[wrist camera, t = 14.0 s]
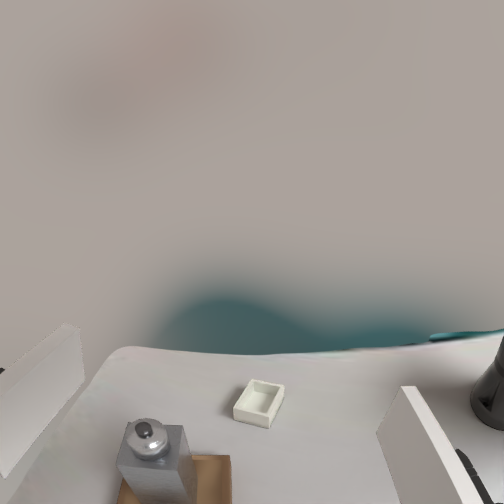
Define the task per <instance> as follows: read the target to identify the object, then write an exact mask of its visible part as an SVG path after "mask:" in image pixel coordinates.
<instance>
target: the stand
mask: <svg viewBox="0 0 504 504" xmlns="http://www.w3.org/2000/svg"><path fill="white" fill-rule="evenodd" d="M191 456H192V460H193V463H194V466H195V469H196V473H197V476H198V485H197V504H232V483H231V462H230V455H191ZM117 504H141V502H140V501H139V499H138V498H137V497H136V495H135V494H134V492H133V491H132V489H131V488H130V486H129V485H128V483H127V482H126V480H125V479H124V477H123V480H122V484H121V488H120V492H119V496H118V500H117Z"/></svg>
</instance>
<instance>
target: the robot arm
mask: <svg viewBox="0 0 504 504" xmlns="http://www.w3.org/2000/svg"><path fill="white" fill-rule="evenodd" d="M84 381H85V374H84V366H83V357H82V348H81V338H80V328H79V327H76V326H73V325H70V324H68V323H64V324H63V325H62V326H60V327H59V328H58V329H56V330H55V331H54V332H52V333H51V334H50V335H49V336H47V337H46V338H45V339H43V340H42V341H41V342H40V343H38V344H37V345H36V346H35V347H33V348H32V349H31V350H29V351H28V352H27V353H26V354H25V355H23V356H22V357H21V358H19V359H18V360H17V361H16V362H14V363H13V364H12V365H11V366H10V367H9V368H7V369H6V370H5V369H3V368H0V476H1V477H3V478H4V479H6V477H7V476H8V475H9V473H10V472H11V471H12V469H13V468H14V467H15V465H16V464H17V463H18V462H19V460H20V459H21V458H22V456H23V455H24V454H25V453H26V451H27V450H28V449H29V448H30V446H31V445H32V444H33V443H34V441H35V440H36V439H37V438H38V436H39V435H40V434H41V433H42V431H43V430H44V429H45V428H46V427H47V425H48V424H49V423H50V422H51V420H52V419H53V418H54V417H55V415H56V414H57V413H58V412H59V411H60V410H61V408H62V407H63V406H64V405H65V403H66V402H67V401H68V400H69V399H70V397H71V396H72V395H73V394H74V393H75V392H76V391H77V389H78V388H79V387H80V386H81V385H82V384H83V382H84ZM471 405H472V408H473V410H474V412H475V414H476V415H477V416H478V417H479V419H480V420H482V421H483V422H484V423H485V424H487V425H489V426H491V427H493V428H495V429H499V430H504V336H503V339H502V342H501V344H500V347H499V350H498V352H497V355H496V357H495V360H494V362H493V363H492V364H491V365H490V367H489V368H488V369H487V370H486V371H485V373H484V374H483V375H482V376H481V377H480V378H479V380H478V381H477V383H476V384H475V387H474V389H473V391H472V393H471ZM376 434H377V437H378V440H379V442H380V445H381V448H382V450H383V453H384V456H385V459H386V462H387V464H388V467H389V470H390V473H391V476H392V479H393V482H394V485H395V487H396V490H397V493H398V496H399V499H400V502H401V504H494V503H493V501H492V500H491V498H490V496H489V494H488V492H487V490H486V488H485V487H484V485H483V483H482V481H481V479H480V478H479V476H477V472H476V471H475V469H474V468H473V465H472V464H471V462H470V460H469V459H468V457H467V456H466V455H465V454H464V453H463V452H461V451H460V450H459V449H455V450H454V448H453V447H452V445H451V443H450V442H449V440H448V438H447V436H446V435H445V433H444V431H443V430H442V428H441V426H440V425H439V423H438V421H437V420H436V418H435V417H434V415H433V413H432V412H431V410H430V408H429V407H428V405H427V404H426V402H425V400H424V399H423V397H422V396H421V394H420V393H419V391H418V389H417V388H416V386H400V388H399V390H398V392H397V394H396V396H395V398H394V400H393V402H392V404H391V406H390V408H389V410H388V412H387V414H386V415H385V417H384V419H383V421H382V423H381V425H380V426H379V428H378V430H377V432H376ZM495 504H503V503H495Z"/></svg>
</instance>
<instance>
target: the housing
mask: <svg viewBox="0 0 504 504" xmlns="http://www.w3.org/2000/svg"><path fill="white" fill-rule="evenodd" d="M116 466H117V468H118V469H119V471H120V472H121V474H122V476H123V477H124V479H125V480H126V482H127V483H128V485H129V486H130V488H131V489H132V491H133V492H134V494H135V495H136V497H137V498H138V499H139V501H140V502H141V504H197V485H198V476H197V473H196V469H195V466H194V463H193V460H192V456H191V453H190V450H189V446H188V443H187V439H186V436H185V432H184V429H183V425H162V423H160V422H159V421H157V420H154V419H147V418H146V419H139V420H136V421H134V422H133V423H131V422H128V424H127V428H126V431H125V434H124V437H123V441H122V444H121V447H120V451H119V454H118V457H117V461H116Z"/></svg>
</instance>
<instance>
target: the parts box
mask: <svg viewBox="0 0 504 504" xmlns="http://www.w3.org/2000/svg"><path fill="white" fill-rule="evenodd" d="M284 387H285V385H279V384H274V383H270V382H265V381H260V380H256V379H251V380H250V382H249V384H248V385H247V387H246V388H245V390H244V391H243V393H242V395H241V396H240V398H239V399H238V401H237V402H236V404H235V405H234V407H233V414H234V420H236V421H240V422H244V423H247V424H251V425H255V426H259V427H263V428H267V429H269V428H270V426H271V424H272V422H273V420H274V418H275V416H276V414H277V411H278V409H279V407H280V405H281V403H282V401H283V399H284Z"/></svg>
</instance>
